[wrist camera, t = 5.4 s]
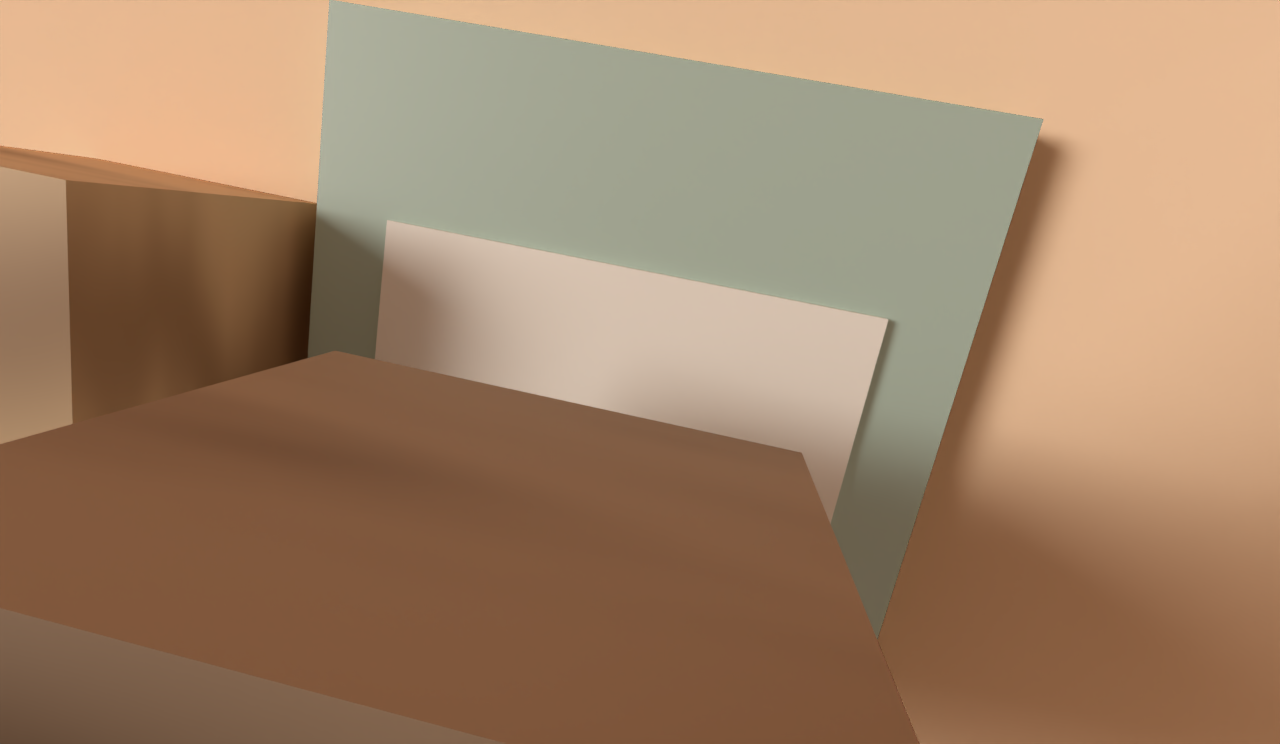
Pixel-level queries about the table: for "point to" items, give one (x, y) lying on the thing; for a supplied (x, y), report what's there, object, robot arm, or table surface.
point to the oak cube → (139, 286)
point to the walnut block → (422, 575)
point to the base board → (666, 245)
